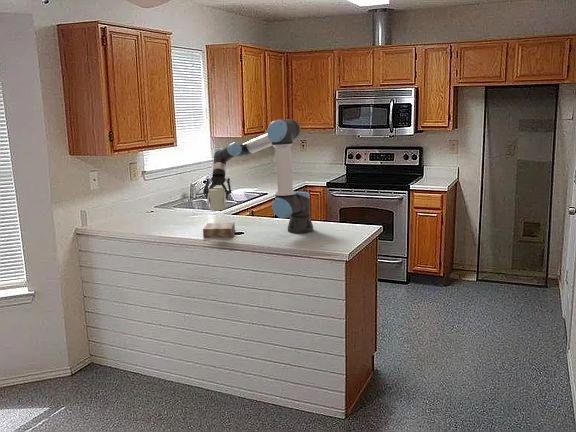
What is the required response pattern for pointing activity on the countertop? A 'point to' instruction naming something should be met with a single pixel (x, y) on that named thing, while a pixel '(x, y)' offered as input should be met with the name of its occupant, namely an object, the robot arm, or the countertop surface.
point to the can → (217, 198)
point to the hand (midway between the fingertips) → (216, 203)
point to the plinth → (218, 230)
